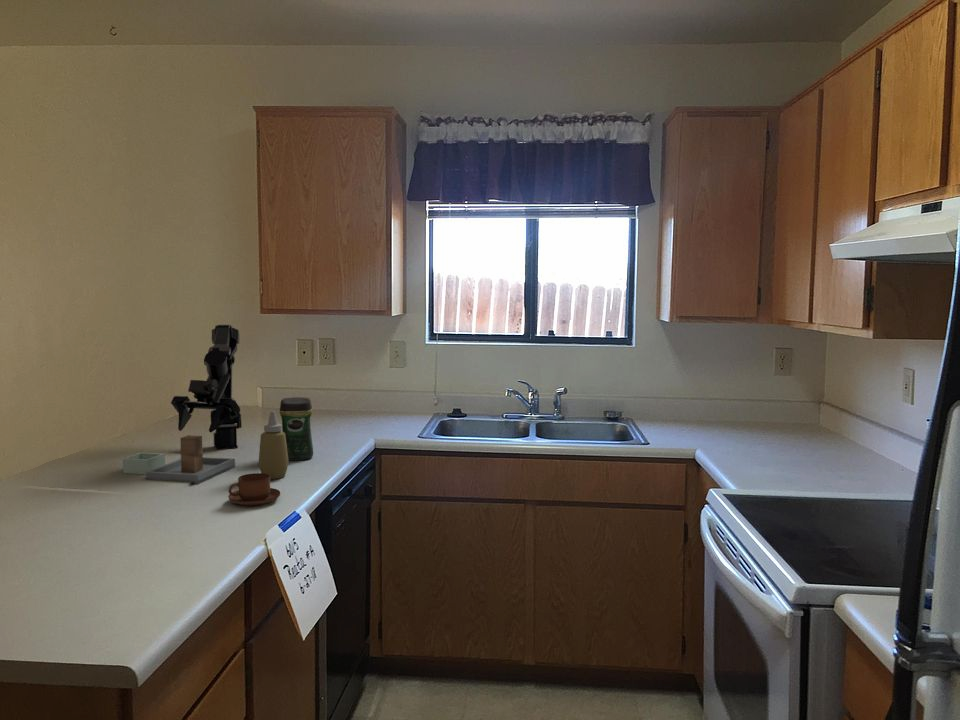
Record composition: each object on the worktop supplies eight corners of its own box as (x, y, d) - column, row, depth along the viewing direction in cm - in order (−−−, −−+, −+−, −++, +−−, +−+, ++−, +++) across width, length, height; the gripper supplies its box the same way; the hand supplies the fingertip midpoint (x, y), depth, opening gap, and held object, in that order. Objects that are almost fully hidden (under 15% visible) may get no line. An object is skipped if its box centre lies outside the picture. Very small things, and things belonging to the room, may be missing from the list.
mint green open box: (140, 468, 205) (140, 452, 205) (165, 469, 204) (164, 453, 203) (123, 474, 198) (122, 458, 197) (148, 476, 196) (147, 459, 196)
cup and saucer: (252, 512, 166) (251, 486, 165) (217, 504, 172) (217, 478, 172) (291, 499, 176) (290, 475, 176) (257, 492, 182) (256, 468, 182)
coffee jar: (313, 454, 224) (313, 395, 222) (312, 460, 216) (311, 399, 214) (281, 455, 222) (280, 395, 220) (279, 461, 214) (278, 399, 213)
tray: (187, 464, 210) (187, 456, 210) (235, 466, 207) (234, 458, 207) (146, 481, 191) (146, 472, 191) (198, 484, 189) (197, 475, 188)
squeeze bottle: (295, 474, 199) (294, 410, 198) (277, 481, 192) (276, 415, 190) (270, 472, 202) (269, 408, 200) (252, 479, 194) (250, 413, 193)
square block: (189, 468, 202) (188, 435, 201) (202, 469, 201) (201, 435, 200) (181, 472, 198) (180, 438, 197) (194, 473, 197) (193, 438, 196)
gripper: (173, 367, 205) (150, 412, 195) (234, 369, 202) (213, 415, 192) (190, 391, 214) (169, 435, 204) (248, 393, 210) (229, 438, 201)
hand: (194, 430), depth 200 cm, fingers open, 9 cm apart
